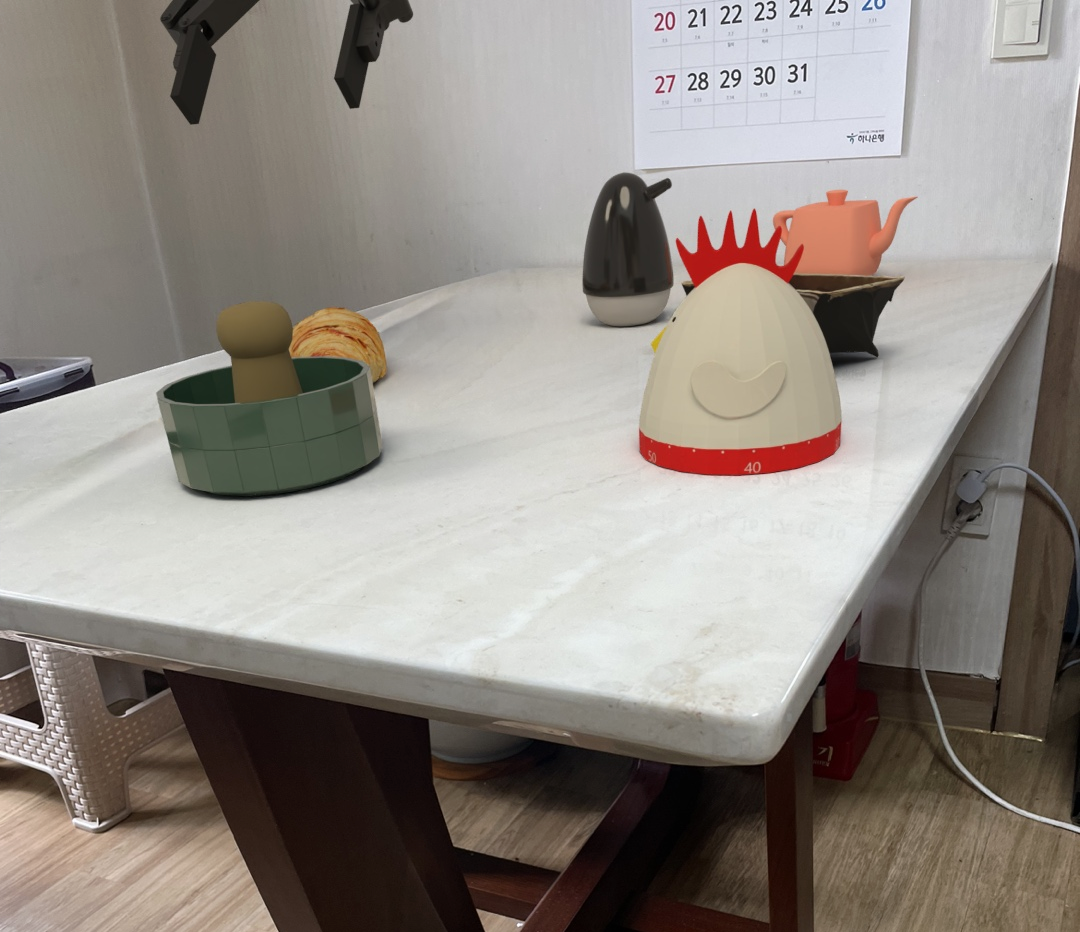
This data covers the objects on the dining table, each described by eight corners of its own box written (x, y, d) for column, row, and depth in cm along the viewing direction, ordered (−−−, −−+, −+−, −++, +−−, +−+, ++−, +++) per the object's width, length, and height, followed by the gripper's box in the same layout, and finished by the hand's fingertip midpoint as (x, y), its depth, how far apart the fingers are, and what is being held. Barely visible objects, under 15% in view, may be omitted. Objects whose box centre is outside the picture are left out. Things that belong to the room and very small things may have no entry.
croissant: (372, 439, 96) (401, 355, 93) (264, 398, 93) (291, 310, 90) (370, 385, 114) (395, 314, 111) (280, 349, 111) (302, 275, 108)
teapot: (788, 274, 140) (791, 188, 135) (924, 275, 131) (933, 182, 125) (752, 288, 132) (754, 197, 127) (894, 290, 123) (903, 192, 118)
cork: (223, 467, 77) (186, 310, 71) (282, 445, 81) (252, 295, 76) (280, 475, 74) (246, 312, 68) (339, 452, 78) (311, 296, 73)
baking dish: (776, 360, 105) (762, 254, 100) (930, 350, 91) (921, 227, 86) (671, 400, 98) (652, 289, 94) (819, 397, 84) (804, 266, 80)
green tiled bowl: (138, 499, 74) (112, 407, 70) (245, 440, 86) (227, 358, 83) (328, 502, 70) (310, 404, 66) (413, 439, 82) (401, 354, 79)
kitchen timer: (647, 422, 81) (642, 208, 73) (831, 415, 78) (844, 193, 71) (632, 477, 69) (623, 229, 61) (847, 472, 66) (866, 212, 59)
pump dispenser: (657, 331, 113) (654, 173, 105) (570, 330, 117) (561, 179, 109) (688, 313, 120) (687, 165, 113) (605, 314, 125) (598, 171, 117)
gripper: (480, -98, 82) (437, 127, 77) (205, -56, 89) (150, 153, 84) (448, -201, 75) (399, 40, 70) (153, -146, 82) (89, 76, 77)
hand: (263, 102), depth 77 cm, fingers open, 13 cm apart
